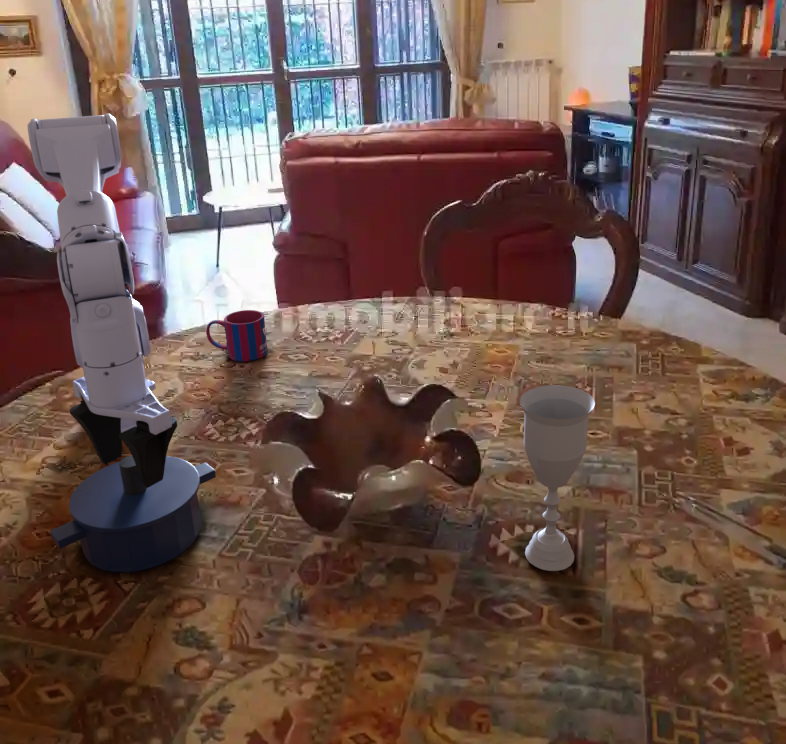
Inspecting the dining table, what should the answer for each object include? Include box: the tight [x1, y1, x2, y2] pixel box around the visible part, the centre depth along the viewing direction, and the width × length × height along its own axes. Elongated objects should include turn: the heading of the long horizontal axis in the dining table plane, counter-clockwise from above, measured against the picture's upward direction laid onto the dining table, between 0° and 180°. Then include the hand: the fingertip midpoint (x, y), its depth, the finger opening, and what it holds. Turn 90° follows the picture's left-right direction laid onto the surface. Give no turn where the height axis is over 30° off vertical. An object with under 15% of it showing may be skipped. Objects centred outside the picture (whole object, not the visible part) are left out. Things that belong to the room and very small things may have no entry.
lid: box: [68, 455, 201, 532], centre depth 81 cm, size 14×14×5 cm
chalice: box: [519, 384, 596, 572], centre depth 75 cm, size 7×7×18 cm
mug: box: [205, 309, 268, 362], centre depth 128 cm, size 7×10×7 cm
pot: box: [49, 462, 217, 573], centre depth 83 cm, size 13×18×5 cm
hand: (132, 470), depth 81 cm, fingers open, 7 cm apart
